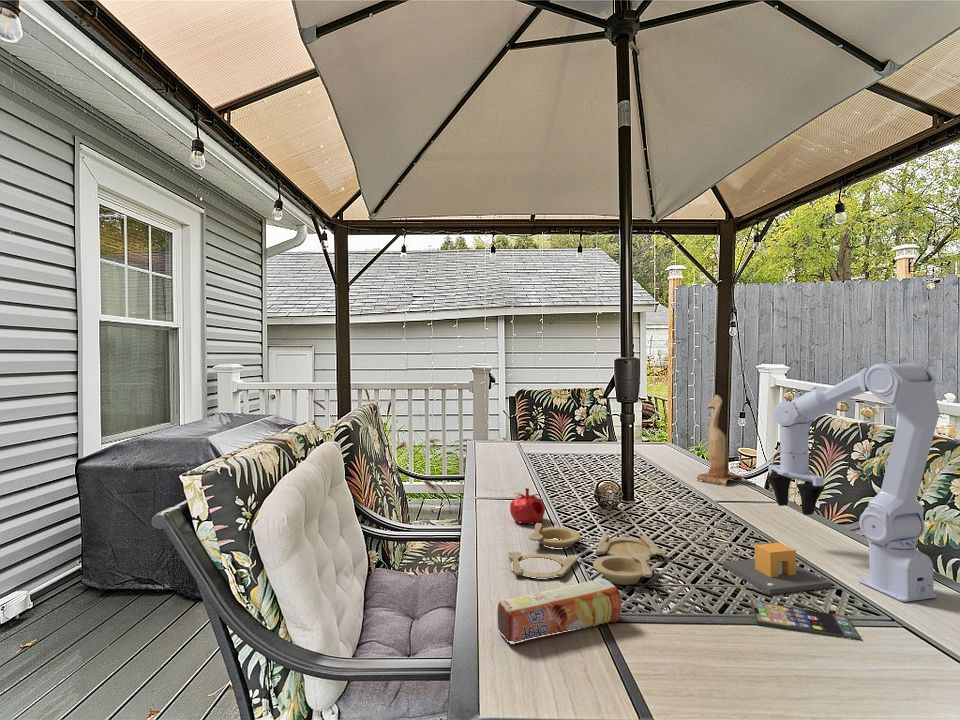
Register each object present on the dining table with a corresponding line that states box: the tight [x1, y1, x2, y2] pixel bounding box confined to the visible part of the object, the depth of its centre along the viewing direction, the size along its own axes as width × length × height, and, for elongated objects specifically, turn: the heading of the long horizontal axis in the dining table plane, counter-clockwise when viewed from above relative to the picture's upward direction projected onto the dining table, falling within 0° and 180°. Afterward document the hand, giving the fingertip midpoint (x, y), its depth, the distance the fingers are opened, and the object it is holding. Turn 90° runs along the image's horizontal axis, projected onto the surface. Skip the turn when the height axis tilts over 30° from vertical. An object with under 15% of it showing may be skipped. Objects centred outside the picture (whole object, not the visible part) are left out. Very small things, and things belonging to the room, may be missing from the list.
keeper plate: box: [722, 558, 833, 595], centre depth 109 cm, size 14×14×4 cm
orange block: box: [754, 542, 797, 577], centre depth 110 cm, size 6×4×5 cm
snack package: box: [496, 577, 622, 642], centre depth 90 cm, size 21×7×7 cm, turn 111°
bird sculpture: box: [696, 394, 743, 487], centre depth 193 cm, size 11×12×32 cm
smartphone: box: [750, 600, 863, 642], centre depth 91 cm, size 8×15×1 cm, turn 69°
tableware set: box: [507, 522, 667, 586], centre depth 120 cm, size 35×29×4 cm
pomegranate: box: [509, 487, 546, 523], centre depth 149 cm, size 10×10×9 cm
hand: (794, 509), depth 124 cm, fingers open, 7 cm apart
